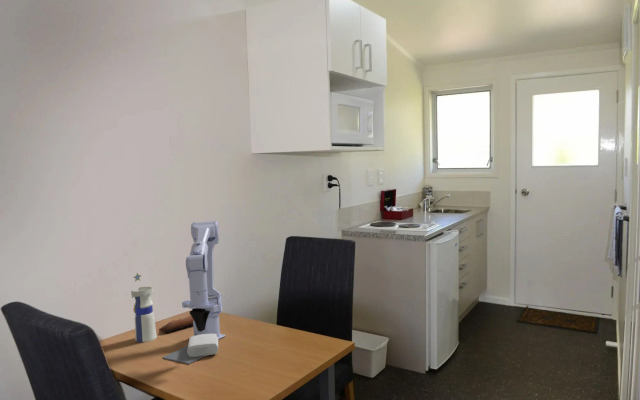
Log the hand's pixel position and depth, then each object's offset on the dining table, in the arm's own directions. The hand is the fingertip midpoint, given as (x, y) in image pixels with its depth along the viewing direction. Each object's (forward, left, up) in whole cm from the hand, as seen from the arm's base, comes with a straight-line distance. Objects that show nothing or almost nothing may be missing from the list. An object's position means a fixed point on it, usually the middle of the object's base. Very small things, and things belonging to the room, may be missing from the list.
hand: (201, 330), depth 158 cm
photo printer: (0, 0, -7) cm, 7 cm away
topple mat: (-7, 0, -9) cm, 12 cm away
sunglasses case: (-32, +21, -10) cm, 40 cm away
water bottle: (-35, +5, -10) cm, 37 cm away
